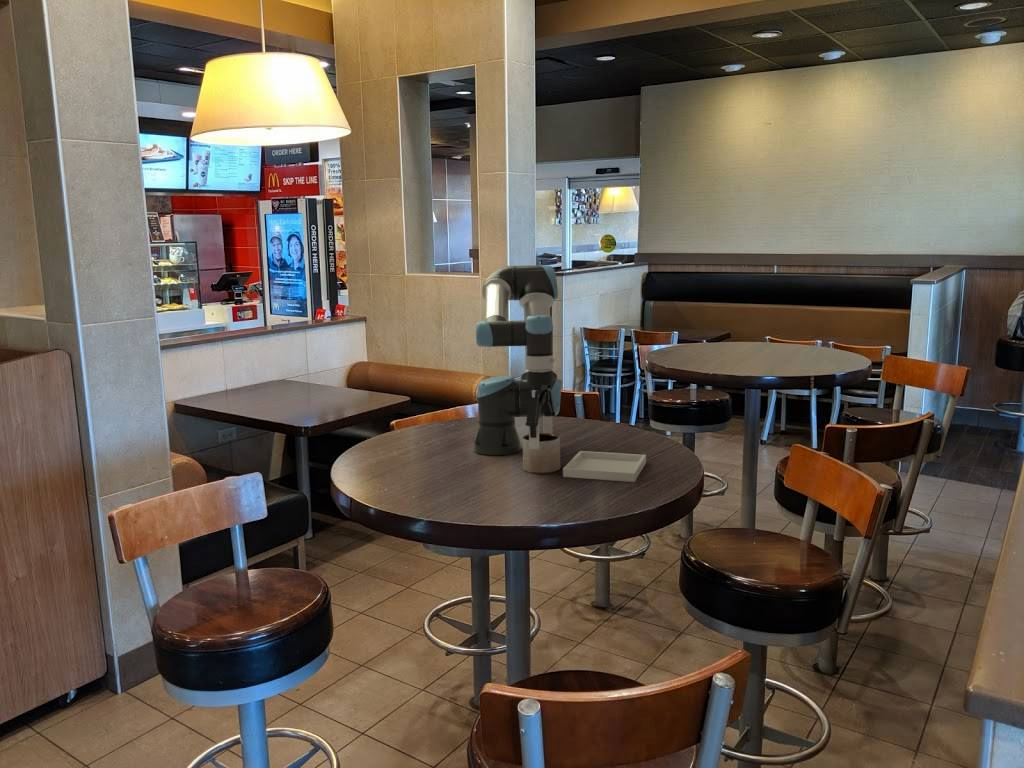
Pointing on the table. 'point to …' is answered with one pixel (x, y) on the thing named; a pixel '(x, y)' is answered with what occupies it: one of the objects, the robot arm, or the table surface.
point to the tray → (605, 466)
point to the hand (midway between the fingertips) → (541, 443)
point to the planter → (542, 454)
